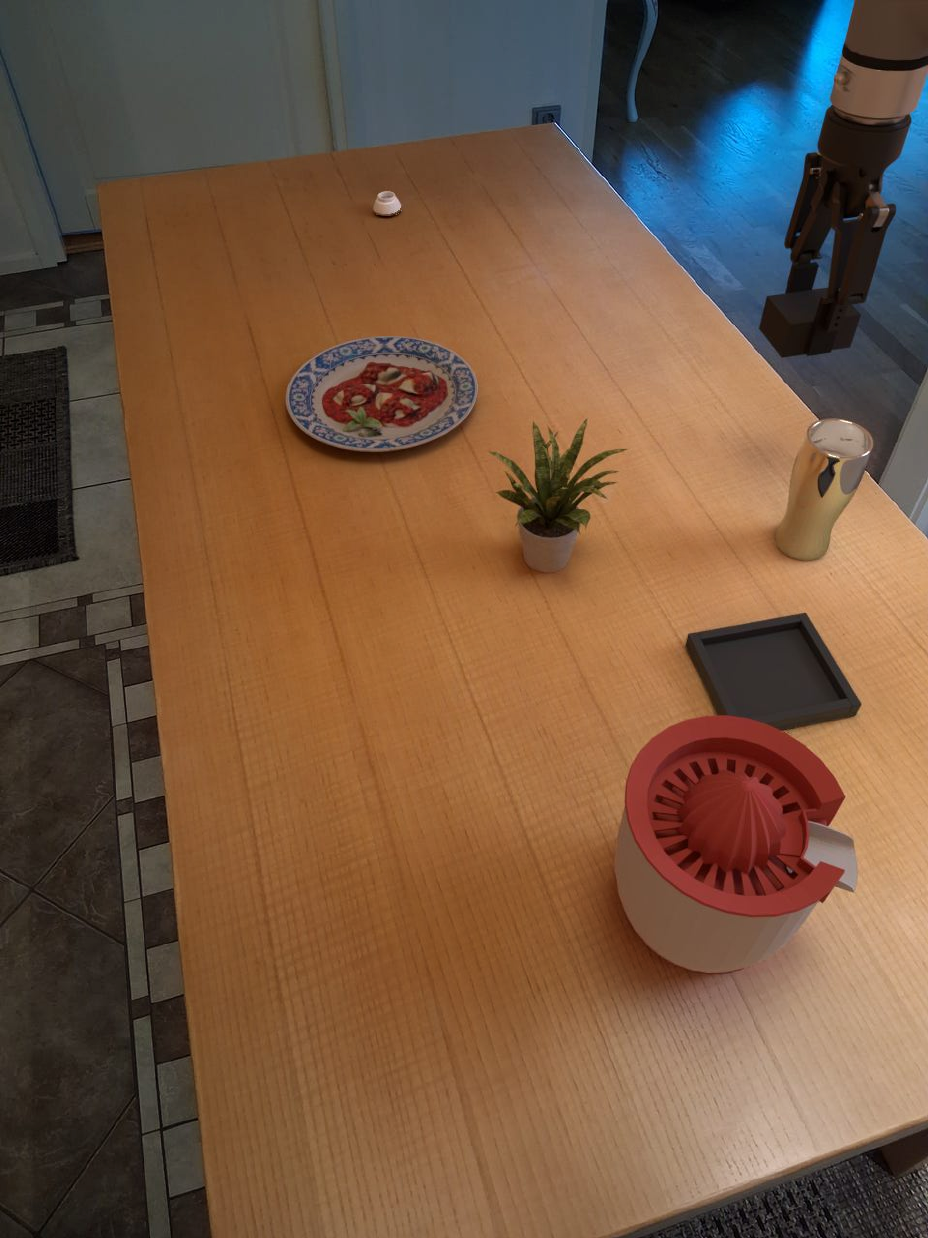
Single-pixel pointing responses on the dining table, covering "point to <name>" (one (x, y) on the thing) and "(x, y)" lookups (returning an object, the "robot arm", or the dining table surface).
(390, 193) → the lidless jar
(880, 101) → the robot arm
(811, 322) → the black block
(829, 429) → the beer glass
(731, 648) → the black square tray
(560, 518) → the house plant
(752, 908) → the citrus juicer
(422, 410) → the ceramic plate
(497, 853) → the dining table surface
